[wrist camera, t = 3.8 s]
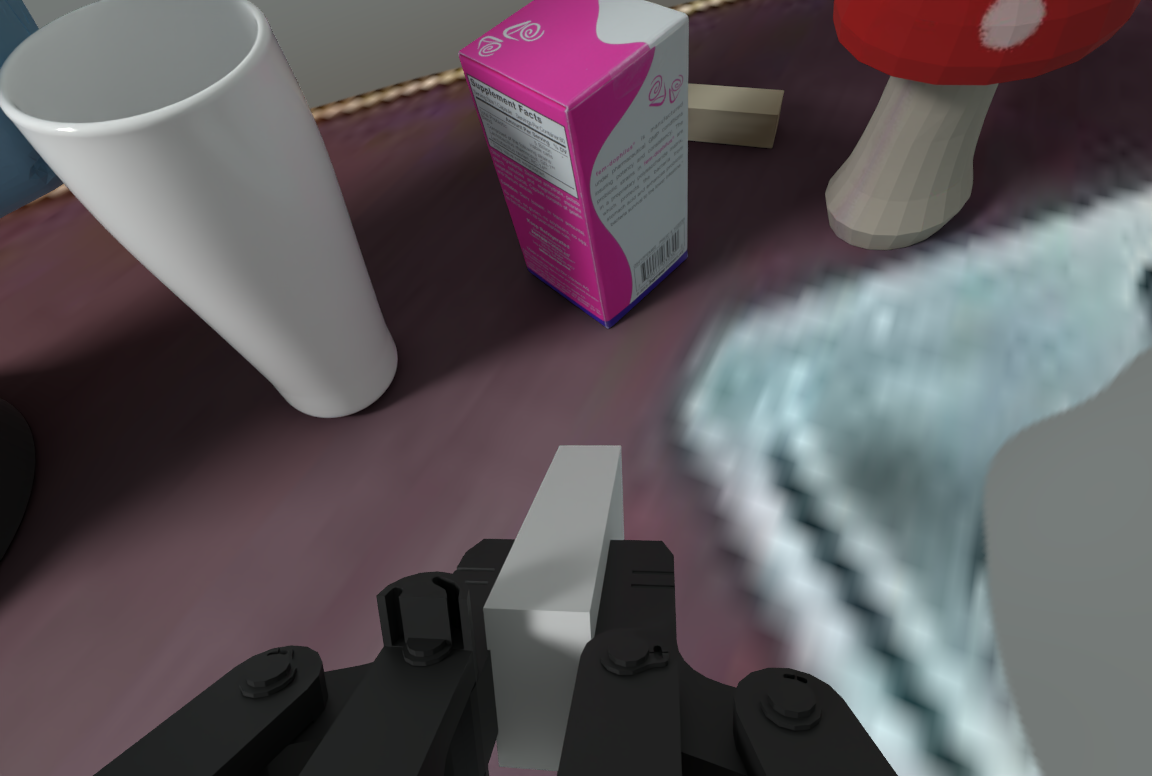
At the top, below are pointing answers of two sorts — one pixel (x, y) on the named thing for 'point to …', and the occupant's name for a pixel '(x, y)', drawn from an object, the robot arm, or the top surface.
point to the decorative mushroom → (943, 99)
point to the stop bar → (733, 115)
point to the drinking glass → (211, 182)
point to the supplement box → (590, 143)
